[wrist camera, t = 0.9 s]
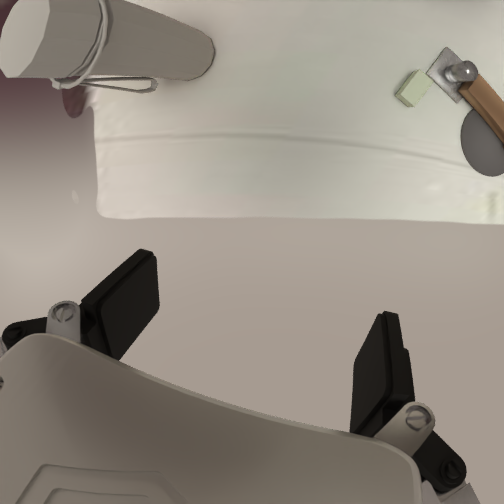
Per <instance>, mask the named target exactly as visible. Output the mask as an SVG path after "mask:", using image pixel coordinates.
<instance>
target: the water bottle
mask: <svg viewBox="0 0 504 504" xmlns="http://www.w3.org/2000/svg"><path fill="white" fill-rule="evenodd" d="M213 54H214V48H213V45H212V42H211V39H210V38H209V37H208V36H206V35H205V34H204V33H202V32H201V31H199V30H197V29H195V28H193V27H191V26H188V25H186V24H184V23H182V22H179V21H177V20H175V19H172V18H170V17H168V16H165V15H163V14H160V13H158V12H155V11H153V10H150V9H147V8H145V7H142V6H139V5H136V4H133V3H130V2H127V1H124V0H19V1H18V2H17V3H16V4H15V5H14V7H13V8H12V10H11V12H10V14H9V16H8V18H7V20H6V22H5V25H4V27H3V30H2V34H1V39H0V68H1V70H2V71H3V73H4V74H5V75H6V77H7V78H22V77H23V78H49V79H50V80H51V81H52V82H53V84H52V87H54V88H56V89H62V88H66V89H70V88H72V87H74V86H76V85H84V86H93V87H102V88H110V89H117V90H123V91H130V92H136V93H148V92H152V91H155V90H156V88H157V86H158V83H157V81H156V80H155V79H153V78H150V77H157V78H168V79H178V80H187V81H189V80H191V79H194V78H196V77H199V76H201V75H202V74H203V73H204V72H205V71H206V70H207V68H208V67H209V66H210V65H211V62H212V58H213ZM77 75H83V76H81V77H80V78H79V79H78V80H69V79H57V80H56V79H55V78H65V77H72V76H77ZM88 75H120V76H142V77H111V78H92V79H85V78H86V77H87V76H88ZM119 80H151V87H150V88H147V89H142V90H134V89H128V88H121V87H114V86H107V85H98V84H90V83H81V82H95V81H119Z"/></svg>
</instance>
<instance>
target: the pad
mask: <svg viewBox="0 0 504 504" xmlns="http://www.w3.org/2000/svg"><path fill="white" fill-rule="evenodd" d="M461 144H462V149H463V152H464V155H465V157H466V159H467V161H468V162H469V164H470V165H471V166H472V167H473V168H474V169H475V170H476V171H478V172H479V173H481V174H483V175H486V176H492V177H493V176H498V175H501V174H503V173H504V148H503V145H504V144H503V142H502V141H501V140H500V139H499V137H498V136H497V135H496V133H495V132H494V131H493V130H492V128H491V127H490V126H489V125H488V124H487V122H486V121H485V120H484V119H483V118H482V116H481V115H480V114H479V113H478V112H477V111H476V110H475V108H474V109H473V110H471V111H470V112H469V113H468V115H467V116H466V118H465V120H464V122H463V125H462V129H461Z"/></svg>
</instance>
